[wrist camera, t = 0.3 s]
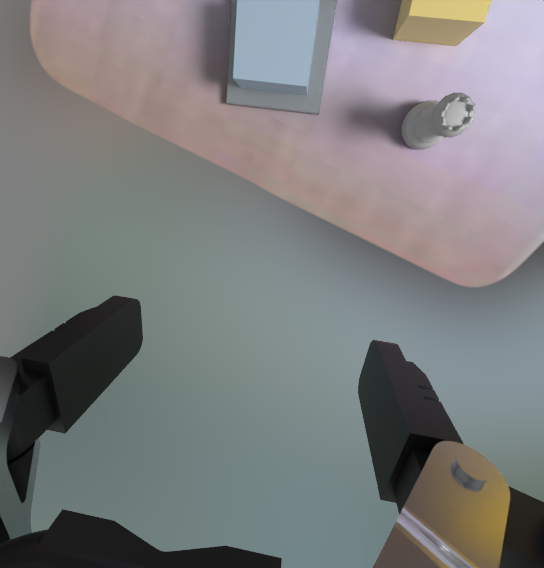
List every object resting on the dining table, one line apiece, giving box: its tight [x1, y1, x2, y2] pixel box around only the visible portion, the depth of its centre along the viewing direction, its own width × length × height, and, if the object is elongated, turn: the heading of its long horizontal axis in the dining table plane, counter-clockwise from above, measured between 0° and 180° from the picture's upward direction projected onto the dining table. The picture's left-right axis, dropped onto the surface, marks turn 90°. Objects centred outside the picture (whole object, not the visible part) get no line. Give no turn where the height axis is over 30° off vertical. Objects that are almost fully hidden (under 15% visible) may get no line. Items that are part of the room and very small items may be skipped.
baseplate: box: [226, 0, 337, 115], centre depth 27 cm, size 10×10×4 cm
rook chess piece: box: [401, 93, 476, 150], centre depth 27 cm, size 4×4×8 cm
